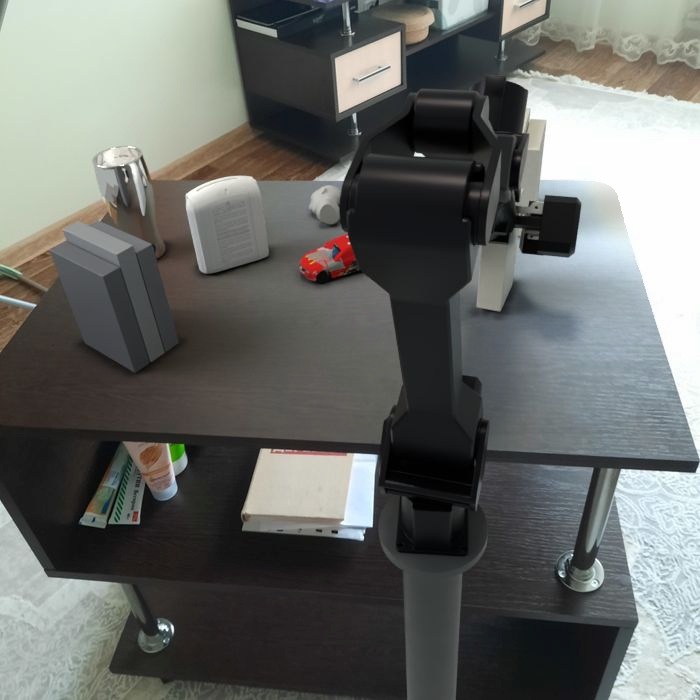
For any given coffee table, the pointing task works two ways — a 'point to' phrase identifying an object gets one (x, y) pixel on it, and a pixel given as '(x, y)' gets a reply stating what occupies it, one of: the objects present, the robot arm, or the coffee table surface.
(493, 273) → the white book
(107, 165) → the silver metal cup
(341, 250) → the race car
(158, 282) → the grey books
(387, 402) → the coffee table surface
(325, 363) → the coffee table surface
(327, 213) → the pale two-lobed sculpture
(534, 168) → the white books
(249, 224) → the photo printer
